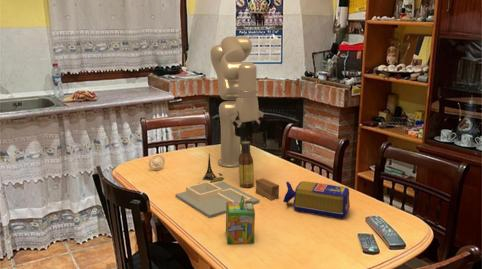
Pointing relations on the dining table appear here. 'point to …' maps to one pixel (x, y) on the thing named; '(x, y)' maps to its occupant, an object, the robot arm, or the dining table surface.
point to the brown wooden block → (267, 189)
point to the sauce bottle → (246, 166)
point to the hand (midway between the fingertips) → (247, 134)
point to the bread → (319, 199)
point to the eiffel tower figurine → (211, 174)
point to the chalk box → (240, 222)
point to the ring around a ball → (156, 162)
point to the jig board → (213, 197)
